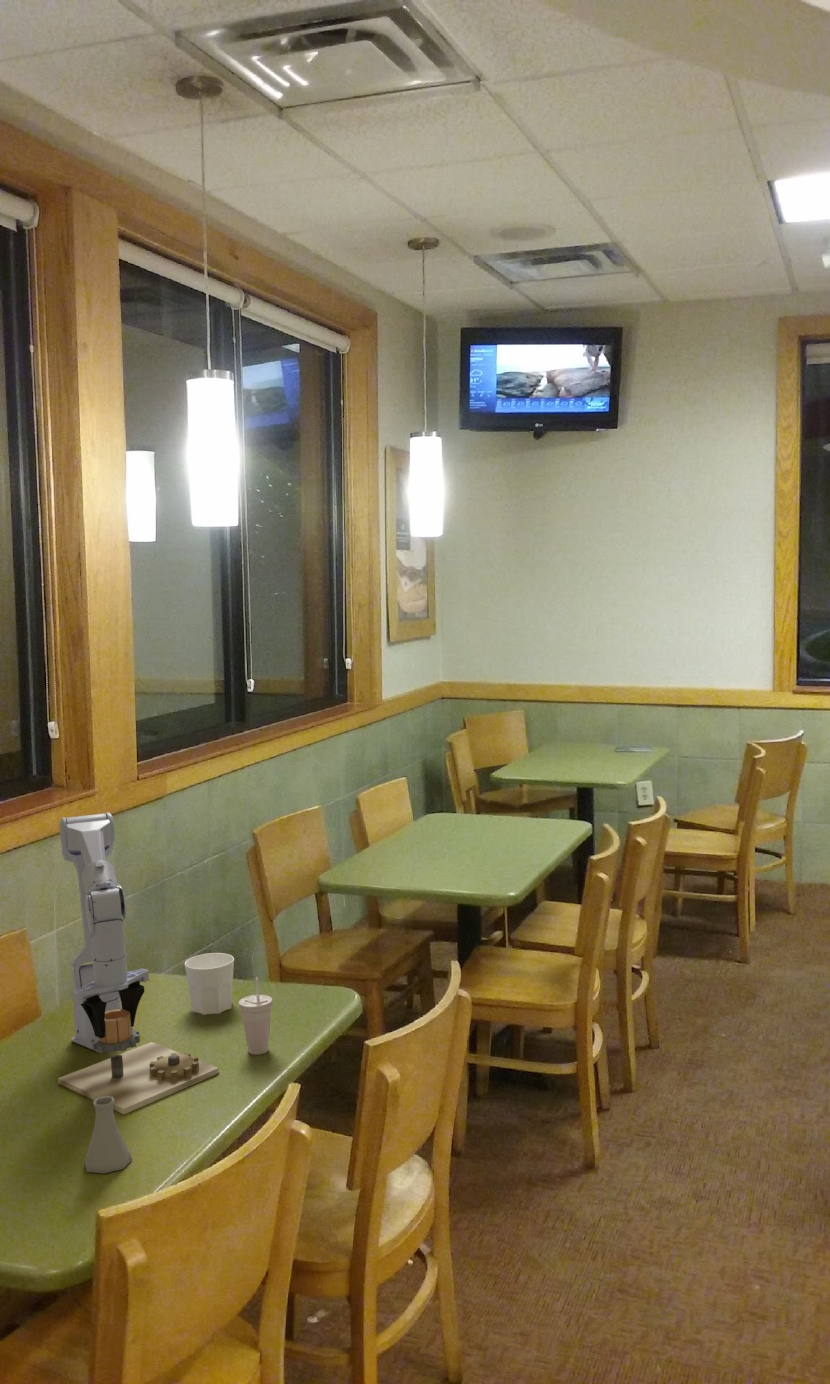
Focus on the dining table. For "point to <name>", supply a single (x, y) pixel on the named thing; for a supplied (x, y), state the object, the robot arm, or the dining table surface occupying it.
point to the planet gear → (116, 1033)
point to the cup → (210, 982)
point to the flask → (106, 1141)
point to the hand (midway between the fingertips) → (114, 1031)
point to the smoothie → (256, 1020)
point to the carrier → (139, 1076)
